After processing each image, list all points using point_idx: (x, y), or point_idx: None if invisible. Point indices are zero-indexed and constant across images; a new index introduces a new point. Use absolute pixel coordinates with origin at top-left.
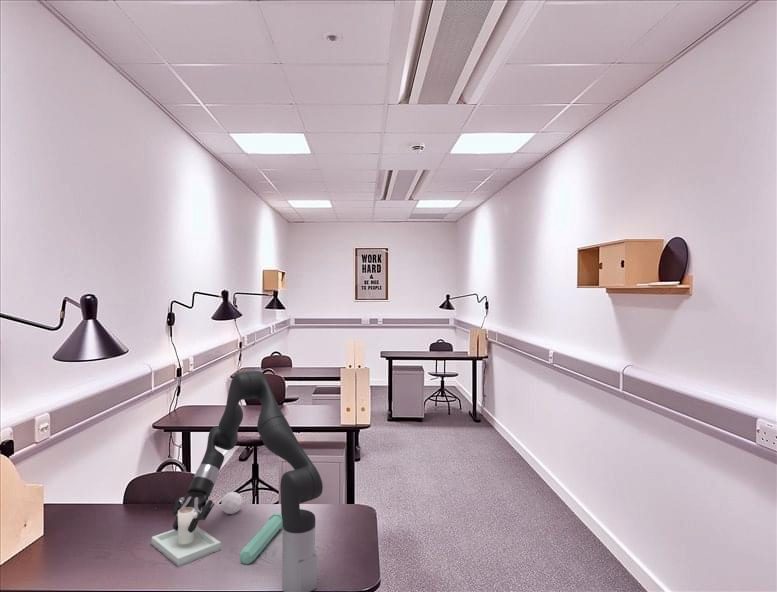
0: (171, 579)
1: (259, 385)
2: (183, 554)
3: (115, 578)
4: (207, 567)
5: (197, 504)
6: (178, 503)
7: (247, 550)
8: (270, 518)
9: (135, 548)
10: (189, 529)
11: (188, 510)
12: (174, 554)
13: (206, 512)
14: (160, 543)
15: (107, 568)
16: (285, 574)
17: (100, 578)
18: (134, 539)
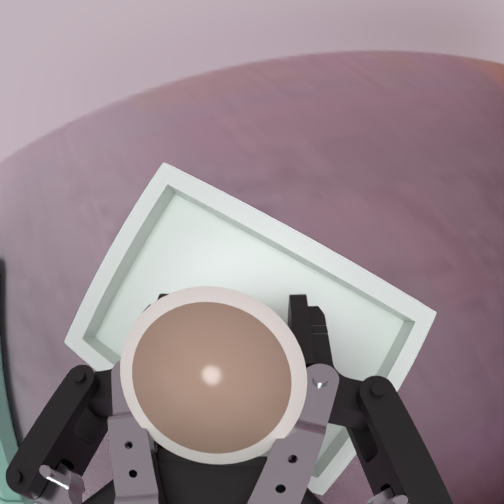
0: (156, 112)
1: None
2: (195, 248)
3: (346, 77)
4: (73, 208)
5: (116, 471)
6: (394, 476)
7: None
8: (19, 500)
9: (452, 263)
10: (162, 294)
11: (174, 379)
12: (202, 186)
13: (82, 437)
14: (351, 266)
15: (422, 120)
16: None
17: (388, 75)
18: (495, 323)
